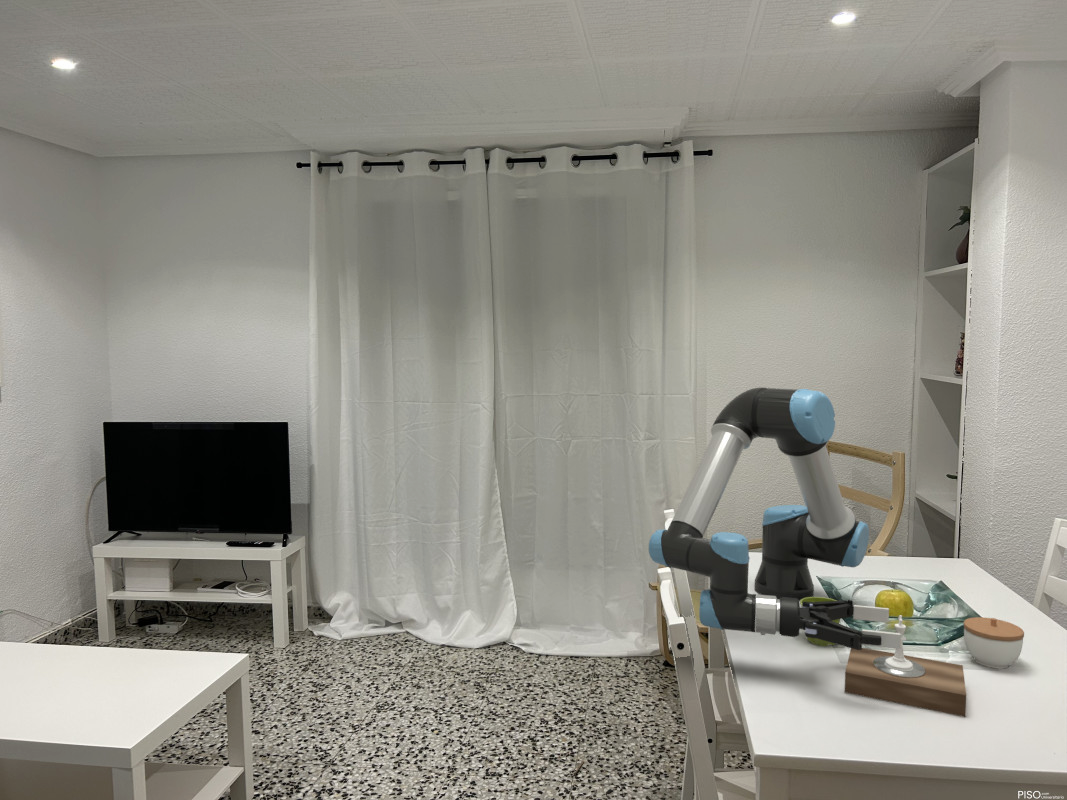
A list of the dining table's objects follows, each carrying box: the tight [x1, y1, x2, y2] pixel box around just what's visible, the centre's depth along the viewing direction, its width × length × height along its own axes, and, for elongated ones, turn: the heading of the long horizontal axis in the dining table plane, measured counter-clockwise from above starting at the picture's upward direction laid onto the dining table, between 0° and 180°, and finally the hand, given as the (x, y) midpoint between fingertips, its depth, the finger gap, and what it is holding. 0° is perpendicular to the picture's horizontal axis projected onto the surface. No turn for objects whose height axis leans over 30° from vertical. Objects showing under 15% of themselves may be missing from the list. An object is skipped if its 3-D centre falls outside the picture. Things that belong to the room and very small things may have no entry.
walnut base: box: [844, 647, 967, 718], centre depth 143 cm, size 14×20×4 cm
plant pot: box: [799, 596, 841, 647], centre depth 166 cm, size 9×9×9 cm
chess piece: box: [885, 614, 913, 672], centre depth 143 cm, size 5×5×10 cm
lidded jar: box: [963, 616, 1025, 670], centre depth 155 cm, size 11×11×9 cm
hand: (894, 627), depth 143 cm, fingers open, 13 cm apart
